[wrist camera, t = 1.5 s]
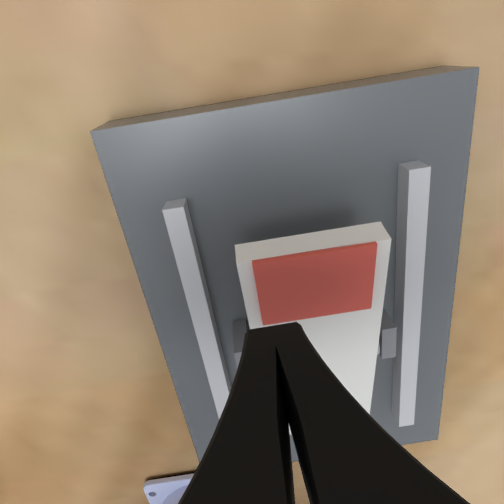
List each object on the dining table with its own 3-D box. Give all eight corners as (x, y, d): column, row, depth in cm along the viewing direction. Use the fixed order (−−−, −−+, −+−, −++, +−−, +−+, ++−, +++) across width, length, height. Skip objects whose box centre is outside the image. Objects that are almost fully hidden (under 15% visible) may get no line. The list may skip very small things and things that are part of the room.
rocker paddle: (364, 404, 21) (371, 424, 20) (268, 419, 21) (271, 440, 20) (383, 220, 13) (396, 241, 12) (231, 245, 13) (233, 267, 12)
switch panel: (418, 405, 25) (457, 475, 21) (205, 438, 25) (201, 514, 21) (443, 65, 16) (522, 68, 12) (108, 121, 16) (67, 143, 12)
